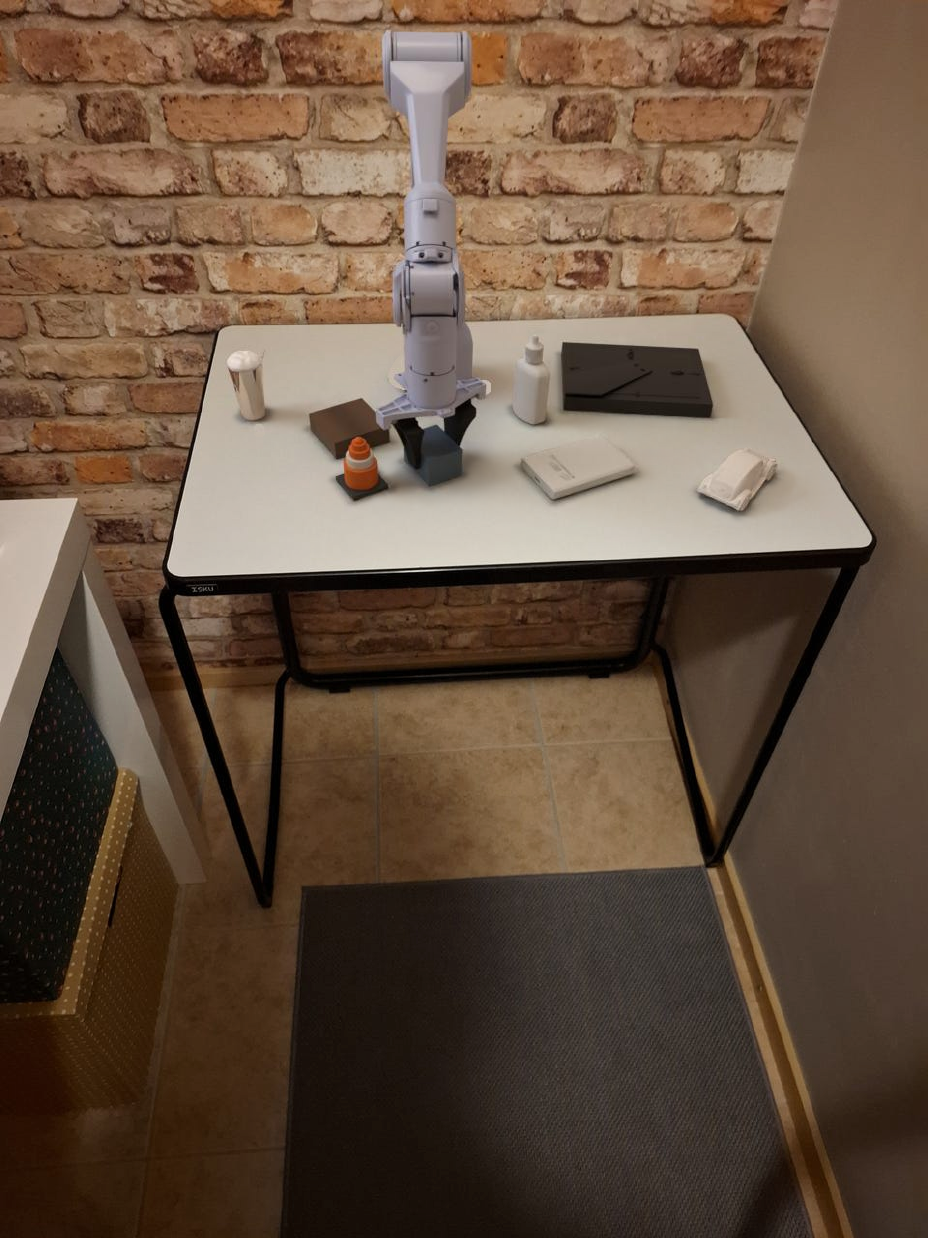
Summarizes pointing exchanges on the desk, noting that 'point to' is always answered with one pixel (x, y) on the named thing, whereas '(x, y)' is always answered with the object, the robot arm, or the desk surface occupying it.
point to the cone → (361, 471)
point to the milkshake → (248, 383)
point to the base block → (347, 426)
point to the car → (738, 478)
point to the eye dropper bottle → (531, 384)
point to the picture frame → (634, 380)
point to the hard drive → (577, 466)
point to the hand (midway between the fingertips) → (432, 458)
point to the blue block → (438, 457)
